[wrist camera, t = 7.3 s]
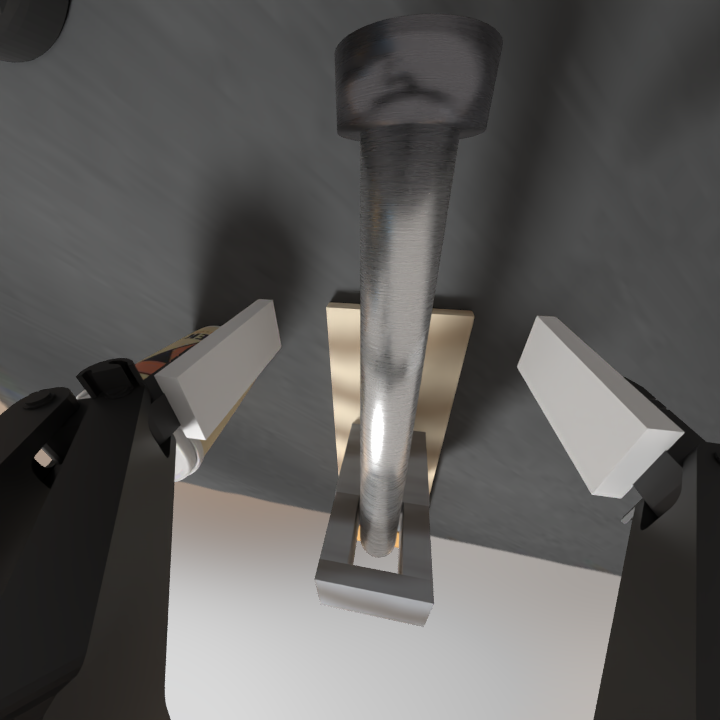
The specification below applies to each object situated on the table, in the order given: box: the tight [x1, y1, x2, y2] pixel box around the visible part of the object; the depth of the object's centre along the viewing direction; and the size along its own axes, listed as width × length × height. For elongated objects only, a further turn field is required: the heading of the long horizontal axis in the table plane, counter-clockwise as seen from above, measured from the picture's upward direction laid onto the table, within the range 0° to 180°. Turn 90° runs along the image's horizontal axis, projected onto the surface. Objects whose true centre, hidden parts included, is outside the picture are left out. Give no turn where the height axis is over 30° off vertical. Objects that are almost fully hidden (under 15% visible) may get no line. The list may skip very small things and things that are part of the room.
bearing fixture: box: [315, 302, 475, 627], centre depth 25 cm, size 32×12×15 cm, turn 0°
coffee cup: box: [76, 326, 256, 482], centre depth 24 cm, size 9×9×12 cm
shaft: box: [335, 14, 503, 557], centre depth 15 cm, size 28×4×4 cm, turn 0°
